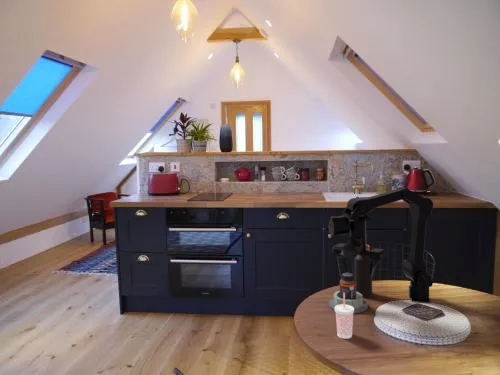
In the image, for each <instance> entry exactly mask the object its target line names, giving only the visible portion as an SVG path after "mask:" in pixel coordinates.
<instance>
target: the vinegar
mask: <svg viewBox="0 0 500 375" xmlns="http://www.w3.org/2000/svg"><path fill="white" fill-rule="evenodd" d="M367 245H368V248H367V250H370V247H371V246H370V245H369V244H367ZM370 251H371V250H370ZM353 259H354V263H353V264H354V265H353V266H354V280H355V281H356V292H359V293H360V294H362V297H363V298H369V297H372V296H373V275H372V276H371V277H370V274H369V270H370V263H369V261H368V260H369V259H370V258H369V256H368V255H357V257H356V258H353Z"/></svg>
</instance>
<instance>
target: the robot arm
mask: <svg viewBox="0 0 500 375" xmlns="http://www.w3.org/2000/svg"><path fill="white" fill-rule="evenodd" d="M399 201H403V202H405V203H407V204H408V205H409V213H410V215H411V218H412V224H411V236H410V246H409V256H408V257H407V259H403V260H402V268H401V270H402V271H403V275H405V277H406V278H407V281H409V282H410V283H409V285H408V297H409V299H410V300H411V302H413V301H418V302H417V303H431V299H430V287H433V283H434V280H433V279H431V277H430V276H429V275H428V274H427V272H428V271H427V270H428V268H427V264H426V262H425V259H424V255H425V254H424V253H425V243H426V233H427V223H428V220H429V218H430V217H431V216H432V212H433V210H434V209H433V208H434V201H433V200H432V199H431V198H429V197H425V196H422V195H420V194H417V193H416V192H414V191H413V190H411V189H409V188H407V187H403V186H401V187H397V188H396V189H391V190H388V191H385V192H382V193H378V194H376V195H375V194H374V195H372V196H363V197H361V196H359V197H352V198H350V199H349V200H348V202H347V203H346V207H345V208H344V211H342V213H341V215H339V216H330V220H329V222H328V227H327V228H328V233H329V235H330V236H343V235H348V234H349V236H348V238H347V242H346V243H342V242H341V243H340V242H339V243H337V244H336V245H333V247H332V254H335V256H336V257H339V259H340V260H341V262H342V264H343V266H344V269H345V271H346V273H350V267H351V266H350V259H354V258H356V257H357V255H368V256H369V258H370V259H369V260H368V261H369V263H370V270H369V274H370V277H371V276H372V277H373V275H374V272H375V270H376V268H377V265H378V263H379V262H381V261H382V260H384V259H385V258H387V251H386V250H385V249H383V248H377V247H375V248H373V249H371V250H367V248H368V245H369V244H367V238H368V237H369V236H368V235H369V234H367V223H366V222H368V221H372V220H373V219H372V218H371V217H370V216H369V215H368V214H369V213H371V212H372V211H373V210H375V209H376V208H378V207H382V206H385V205H389V204H392V203H395V202H399Z"/></svg>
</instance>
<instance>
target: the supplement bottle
mask: <svg viewBox="0 0 500 375" xmlns="http://www.w3.org/2000/svg"><path fill="white" fill-rule="evenodd" d="M341 275H342V276H341V279H340V280H339V291H340V298H342V299H343V293H345V299H346V300H353V299H356V281H355V276H354V273H351V272H344V273H342V274H341Z"/></svg>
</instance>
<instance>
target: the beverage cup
mask: <svg viewBox="0 0 500 375" xmlns="http://www.w3.org/2000/svg"><path fill="white" fill-rule="evenodd" d="M334 312H335V321H336V333H337V334H336V335H337V336H338V338H340V339H351V338H352V337H353V326H354V325H353V323H354V314H353V312H354V307H352V306H350V305H346V304H345V293H343V304H340V305H336V306H335V311H334Z"/></svg>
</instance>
